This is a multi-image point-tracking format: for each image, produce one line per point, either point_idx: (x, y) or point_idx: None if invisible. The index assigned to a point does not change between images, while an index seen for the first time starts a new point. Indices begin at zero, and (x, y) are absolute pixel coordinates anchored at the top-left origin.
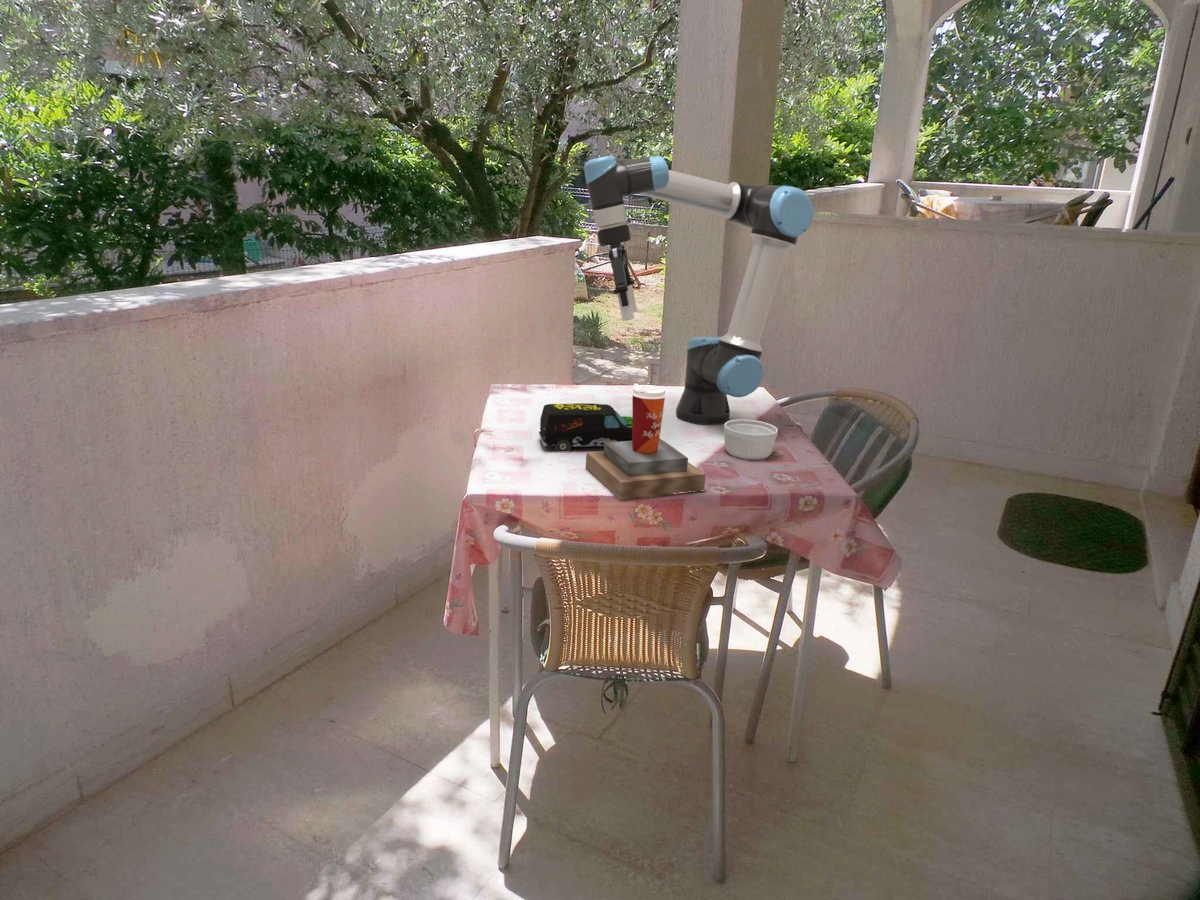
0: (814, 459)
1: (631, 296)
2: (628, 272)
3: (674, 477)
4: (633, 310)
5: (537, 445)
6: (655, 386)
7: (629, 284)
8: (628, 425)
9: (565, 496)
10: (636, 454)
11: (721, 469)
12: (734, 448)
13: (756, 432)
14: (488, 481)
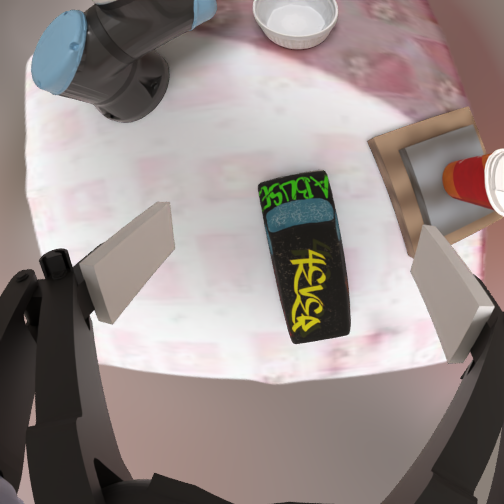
0: None
1: (133, 247)
2: (48, 333)
3: (484, 148)
4: (168, 220)
5: None
6: (500, 166)
7: (77, 281)
8: (321, 194)
9: (481, 274)
10: None
11: (378, 68)
12: (324, 38)
13: (264, 4)
14: (439, 354)
